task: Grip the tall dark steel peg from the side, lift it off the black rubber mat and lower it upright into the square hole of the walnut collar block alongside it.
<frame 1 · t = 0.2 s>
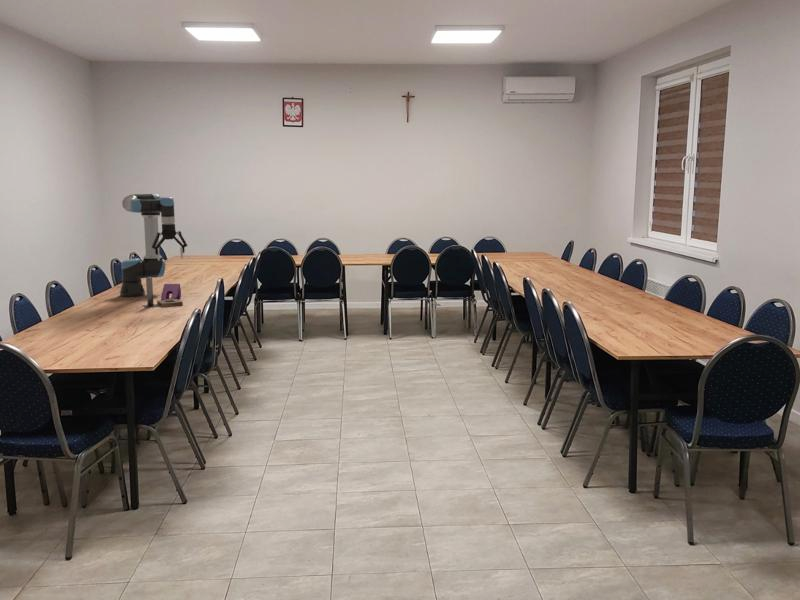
hand: (170, 259, 432), 27 cm above the table, tool pointing down, fingers open, 13 cm apart
mounting bracket: (170, 301, 451), on the table
collar: (169, 305, 433), on the table
mat: (150, 306, 428), on the table
peg: (149, 291, 427), on the mat
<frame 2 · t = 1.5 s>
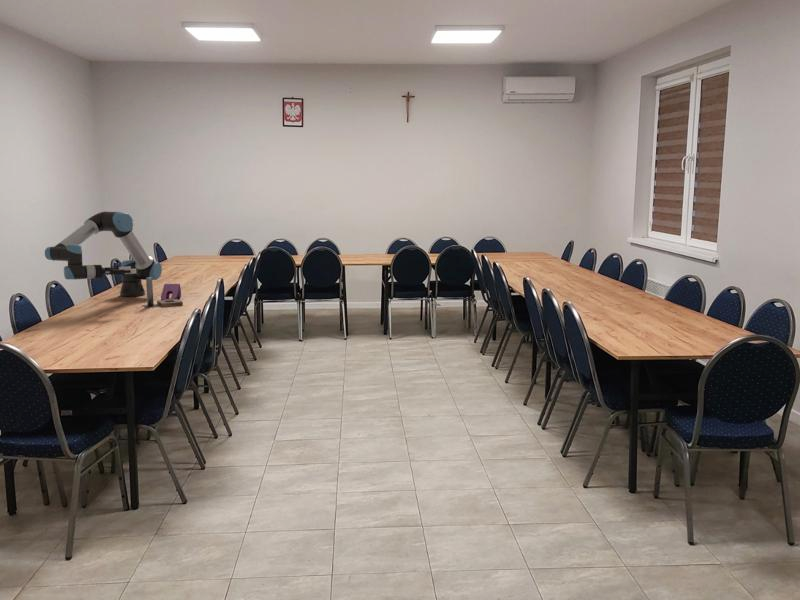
hand: (133, 269, 420), 22 cm above the table, tool horizontal, fingers open, 13 cm apart
nothing on the table moved.
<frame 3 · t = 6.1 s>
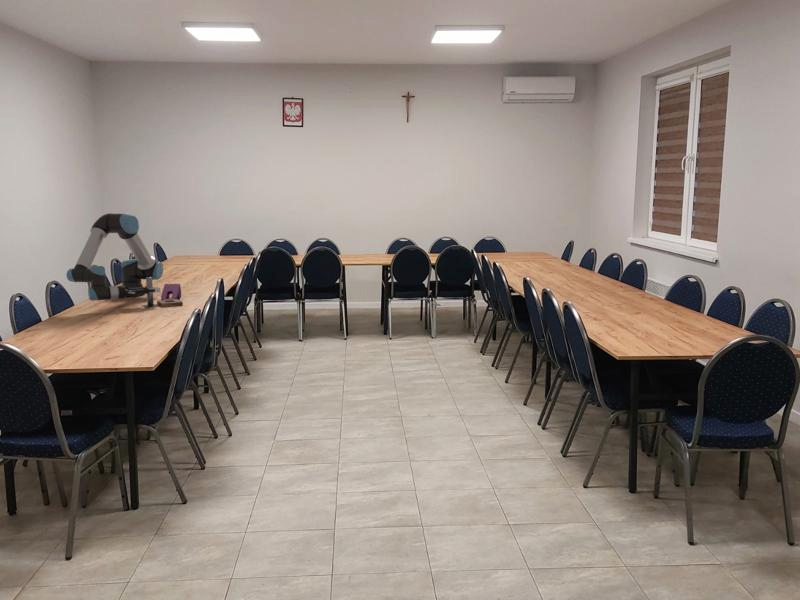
hand: (159, 289, 429), 10 cm above the table, tool horizontal, fingers closed on peg, 3 cm apart
peg: (149, 291, 427), on the mat, touching gripper
everything else where it was.
when the fingers open (11 cm above the table, at t = 11.0 s): peg drops 1 cm, resting in collar.
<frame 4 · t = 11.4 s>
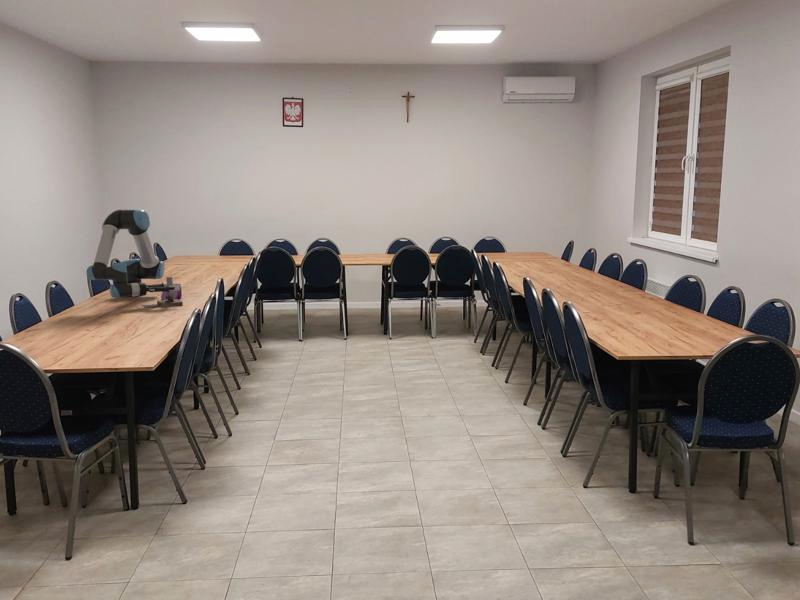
hand: (177, 286, 434), 11 cm above the table, tool horizontal, fingers open, 9 cm apart
peg: (170, 291, 432), in the collar
everything else where it was.
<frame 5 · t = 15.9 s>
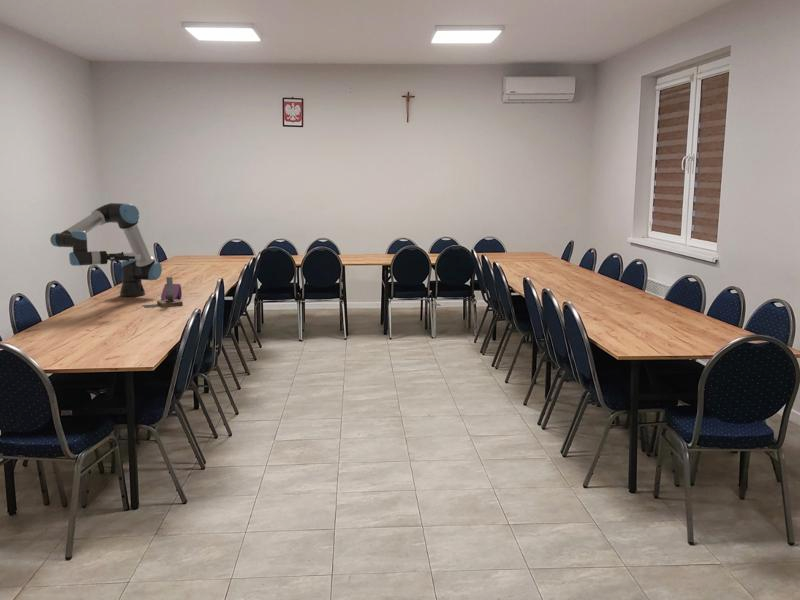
hand: (138, 255, 424), 30 cm above the table, tool horizontal, fingers open, 13 cm apart
nothing on the table moved.
at the end: peg 0.5 cm off-centre on the collar, point 8.5 cm above the collar's base; peg tilted 0°; the gripper is holding nothing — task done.
